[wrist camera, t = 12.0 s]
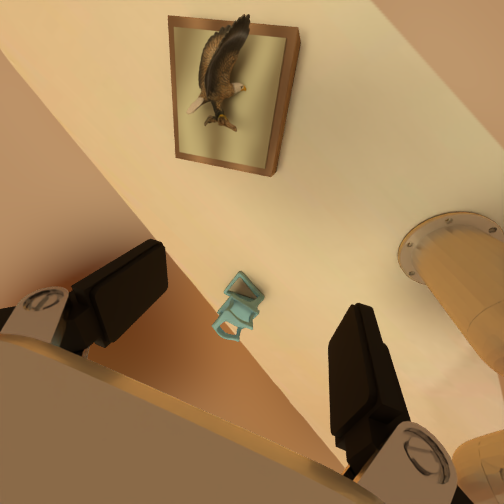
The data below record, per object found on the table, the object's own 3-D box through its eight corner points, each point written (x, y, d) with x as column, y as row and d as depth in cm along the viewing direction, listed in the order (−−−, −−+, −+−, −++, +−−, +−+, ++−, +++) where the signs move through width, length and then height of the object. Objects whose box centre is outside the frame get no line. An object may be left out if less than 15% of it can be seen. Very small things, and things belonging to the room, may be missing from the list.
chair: (252, 308, 50) (237, 353, 40) (224, 290, 49) (201, 331, 39) (270, 291, 46) (259, 336, 36) (239, 270, 45) (219, 310, 35)
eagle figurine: (262, 129, 25) (272, 18, 19) (212, 135, 21) (205, 1, 15) (225, 117, 29) (224, 22, 23) (178, 120, 25) (161, 9, 19)
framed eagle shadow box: (300, 43, 25) (297, 25, 21) (275, 171, 33) (270, 177, 29) (188, 31, 27) (165, 13, 23) (190, 154, 35) (173, 158, 31)
